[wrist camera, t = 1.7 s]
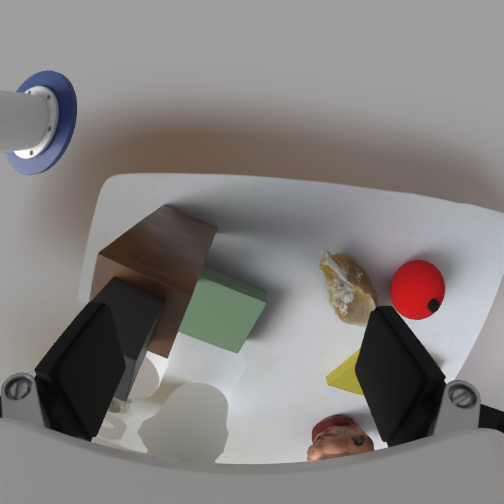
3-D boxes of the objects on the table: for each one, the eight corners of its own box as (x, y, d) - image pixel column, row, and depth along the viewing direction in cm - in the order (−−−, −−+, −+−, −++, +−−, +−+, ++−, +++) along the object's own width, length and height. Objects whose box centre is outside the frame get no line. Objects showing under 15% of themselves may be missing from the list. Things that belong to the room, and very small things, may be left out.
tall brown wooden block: (148, 248, 39) (86, 321, 21) (164, 204, 37) (97, 253, 19) (199, 270, 40) (167, 358, 23) (217, 227, 38) (192, 296, 20)
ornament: (371, 294, 42) (397, 329, 33) (396, 243, 39) (431, 270, 30) (410, 306, 43) (438, 339, 34) (434, 260, 40) (468, 287, 31)
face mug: (384, 413, 54) (403, 457, 41) (356, 440, 58) (369, 482, 45) (315, 406, 51) (327, 460, 38) (289, 435, 55) (295, 485, 42)
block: (104, 319, 21) (67, 373, 15) (113, 276, 20) (68, 326, 13) (151, 341, 22) (125, 402, 15) (165, 299, 21) (136, 360, 14)
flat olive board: (436, 362, 49) (367, 330, 45) (441, 368, 47) (371, 337, 43) (401, 399, 53) (325, 377, 48) (404, 405, 51) (328, 385, 46)
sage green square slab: (180, 317, 43) (175, 330, 40) (201, 264, 40) (197, 274, 37) (238, 340, 45) (237, 353, 41) (265, 290, 42) (266, 303, 38)
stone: (367, 344, 38) (316, 277, 33) (345, 326, 44) (295, 263, 39) (399, 310, 38) (357, 236, 33) (374, 296, 44) (331, 229, 39)
